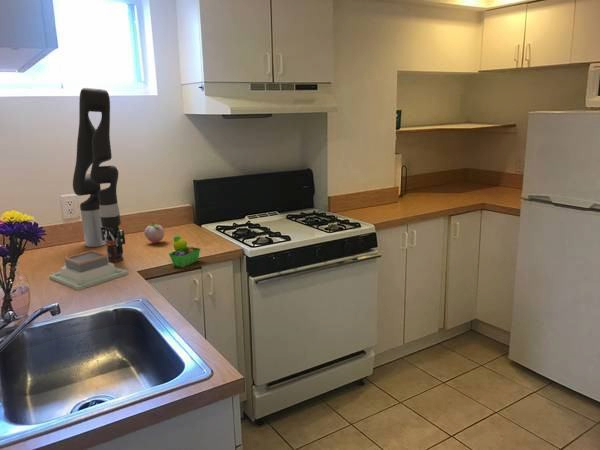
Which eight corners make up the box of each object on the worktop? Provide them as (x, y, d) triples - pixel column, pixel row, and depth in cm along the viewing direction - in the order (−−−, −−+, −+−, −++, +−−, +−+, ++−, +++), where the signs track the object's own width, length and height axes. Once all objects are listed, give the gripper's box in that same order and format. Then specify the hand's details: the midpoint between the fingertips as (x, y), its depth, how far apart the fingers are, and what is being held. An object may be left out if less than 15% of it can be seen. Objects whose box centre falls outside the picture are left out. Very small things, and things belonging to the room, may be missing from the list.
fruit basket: (182, 268, 193) (179, 241, 190) (166, 265, 198) (163, 238, 195) (202, 260, 202) (200, 234, 199) (187, 257, 207) (184, 231, 204)
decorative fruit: (169, 242, 230) (167, 221, 228) (156, 246, 224) (153, 225, 221) (156, 239, 235) (153, 219, 233) (142, 244, 229) (140, 223, 226)
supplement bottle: (126, 258, 208) (123, 232, 205) (117, 262, 203) (113, 236, 200) (115, 257, 210) (111, 232, 207) (105, 261, 205) (101, 235, 202)
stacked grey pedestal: (49, 278, 187) (45, 258, 185) (98, 263, 202) (95, 245, 200) (78, 290, 174) (74, 269, 172) (128, 273, 189) (125, 254, 187)
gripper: (92, 214, 203) (97, 251, 207) (111, 218, 194) (116, 257, 198) (108, 210, 209) (113, 247, 213) (127, 214, 200) (132, 252, 204)
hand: (115, 252), depth 206 cm, fingers open, 7 cm apart
